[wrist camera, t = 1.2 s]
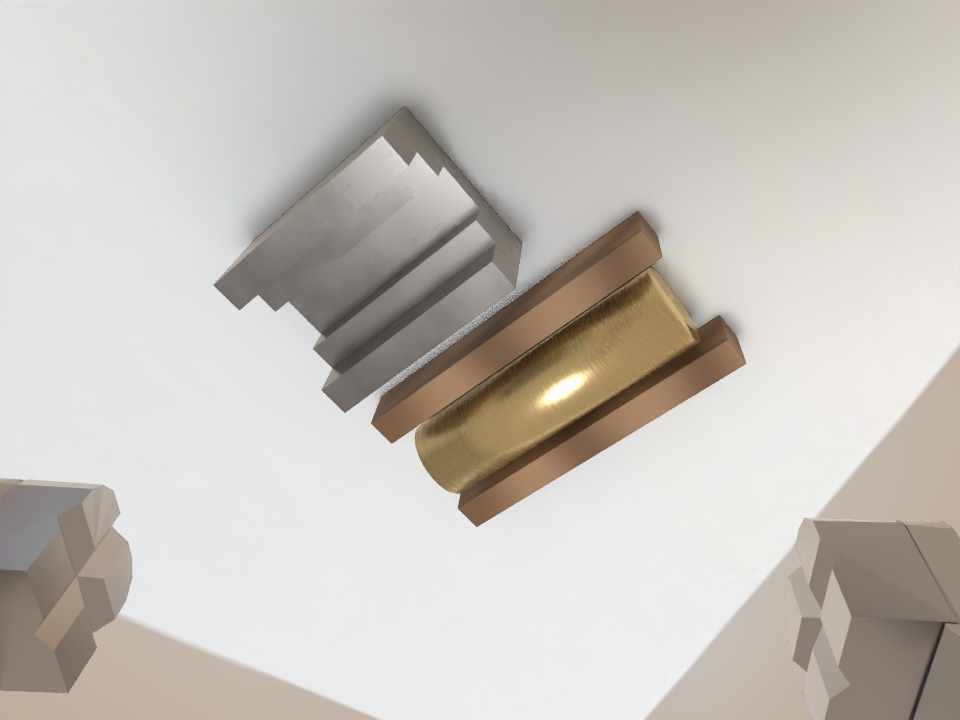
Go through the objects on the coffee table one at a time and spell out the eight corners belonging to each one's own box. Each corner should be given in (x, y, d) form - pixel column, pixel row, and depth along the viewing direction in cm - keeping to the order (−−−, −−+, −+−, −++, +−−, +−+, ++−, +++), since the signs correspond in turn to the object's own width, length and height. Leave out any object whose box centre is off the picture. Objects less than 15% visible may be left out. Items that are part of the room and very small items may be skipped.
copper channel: (637, 211, 38) (641, 231, 36) (737, 337, 41) (746, 363, 38) (381, 396, 44) (370, 423, 42) (481, 497, 47) (476, 527, 44)
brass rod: (645, 255, 39) (651, 290, 36) (694, 317, 40) (705, 357, 37) (421, 410, 45) (408, 454, 41) (471, 461, 46) (463, 508, 42)
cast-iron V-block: (404, 106, 37) (382, 135, 32) (522, 243, 39) (515, 288, 35) (252, 242, 41) (213, 285, 36) (368, 359, 43) (344, 412, 39)
